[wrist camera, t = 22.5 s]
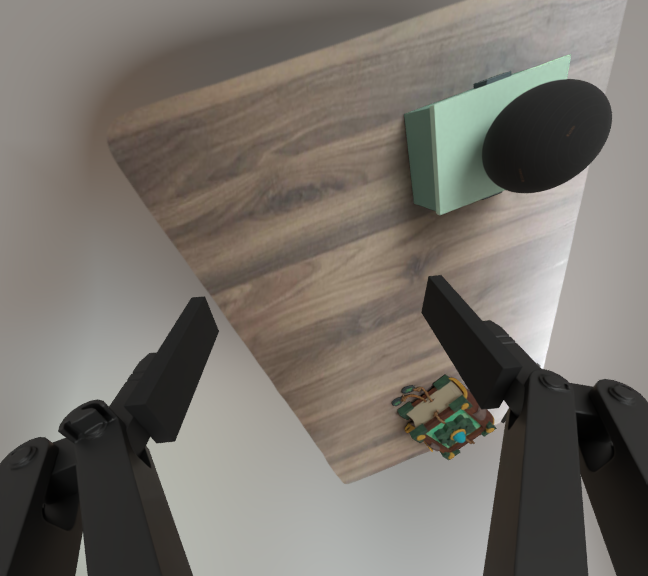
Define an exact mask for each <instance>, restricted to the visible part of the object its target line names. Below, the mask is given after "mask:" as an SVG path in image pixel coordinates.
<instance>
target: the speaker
mask: <svg viewBox="0 0 648 576" xmlns="http://www.w3.org/2000/svg"><path fill="white" fill-rule="evenodd" d="M611 123H612V111H611V106H610V103H609V101H608V99H607V97H606V96H605V94H604V93H603V92H602V91H601V90H600V89H599V88H597V87H596V86H594V85H593V84H590V83H588V82H585V81H581V80H575V79H562V80H555V81H550V82H547V83H544V84H541V85H538V86H536V87H534V88H532V89H530V90H528V91H526V92H524V93H523V94H521V95H520V96H518V97H517V98H515V99H514V100H513V101H512V102H510V103H509V104H508V105H507V106H506V107H505V108H504V109H503V110H502V111H501V112H500V113H499V115H498V116H497V117H496V118H495V120H494V121H493V123H492V124H491V126H490V128H489V130H488V132H487V134H486V137H485V139H484V143H483V148H482V163H483V167H484V170H485V172H486V174H487V175H488V177H489V178H490V179H491V181H492V182H493V183H495V184H496V185H497V186H499V187H501V188H503V189H505V190H508V191H511V192H516V193H535V192H541V191H545V190H548V189H551V188H554V187H556V186H559V185H561V184H563V183H565V182H567V181H568V180H570V179H572V178H573V177H575V176H576V175H578V174H579V173H580V172H581V171H583V170H584V169H585V168H586V167H587V166H588V165H589V164H590V163H591V162H592V161H593V160H594V159H595V158H596V156H597V155H598V154H599V152H600V151H601V149H602V147H603V146H604V144H605V142H606V140H607V138H608V135H609V132H610V129H611Z"/></svg>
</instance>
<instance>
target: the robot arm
mask: <svg viewBox="0 0 648 576" xmlns="http://www.w3.org/2000/svg"><path fill="white" fill-rule="evenodd" d="M421 313H422V314H423V316H424V318H425V319H426V321H427V322H428V324H429V326H430V327H431V329H432V330H433V332H434V334H435V335H436V337H437V339H438V340H439V342H440V343H441V345H442V347H443V348H444V350H445V351H446V353H447V355H448V356H449V358H450V360H451V361H452V363H453V364H454V366H455V368H456V369H457V371H458V372H459V374H460V376H461V377H462V379H463V381H464V382H465V384H466V385H467V387H468V389H469V390H470V392H471V394H472V395H473V397H474V398H475V400H476V402H477V403H478V405H479V406H480V408H481V410H484V409H494V408H499V407H500V405H501V403H502V402H503V400H504V401H505V402H506V403H507V405H508V406H509V409H508V411H507V412H506V414H505V415H504V417H503V419H502V421H501V422H502V423H504V422H505V421H506V422H505V429H504V436H503V443H502V450H501V456H500V463H499V470H498V477H497V484H496V491H495V498H494V504H493V512H492V518H491V525H490V532H489V539H488V545H487V552H486V559H485V566H484V573H483V576H588V567H587V553H586V540H585V526H584V513H583V502H582V501H583V500H582V487H581V477H582V479H583V482H584V485H585V488H586V491H587V494H588V496H589V499H590V502H591V505H592V508H593V510H594V513H595V516H596V519H597V522H598V525H599V527H600V530H601V533H602V536H603V539H604V541H605V544H606V547H607V550H608V553H609V555H610V558H611V561H612V564H613V567H614V570H615V572H616V575H617V576H648V402H647V401H646V399H645V398H644V397H643V396H642V395H641V394H640V393H638V392H637V391H636V390H634V389H633V388H631V387H629V386H627V385H625V384H623V383H620V382H617V381H614V380H608V379H603V380H599V381H598V382H597V383H596V384H595V386H594V387H591V386H585V385H579V384H573V383H569V382H568V381H567V380H566V379H564V378H563V377H561V376H560V375H558V374H556V373H554V372H552V371H549V370H545V369H541V368H540V367H539V366H538V365H537V364H536V363H535V362H534V361H533V360H532V359H531V358H530V356H529V355H528V354H527V353H526V352H525V351H524V350H523V349H522V348H521V347H520V346H519V345H518V344H517V343H515V341H514V340H513V339H512V338H511V337H509V335H508V334H507V333H506V332H505V330H504V329H503V328H502V327H500V326H499V325H497V324H495V323H494V322H492V321H491V320H488V321H482V320H481V319H480V318H479V317H478V315H477V314H476V313H475V312H474V311H473V310H472V309H471V308H470V307H469V305H468V304H467V303H466V302H465V301H464V300H463V299H462V298H461V297H460V295H459V294H458V293H457V292H456V291H455V290H454V289H453V288H452V287H451V285H450V284H449V283H448V282H447V281H446V280H445V279H444V278H443V276H442V275H438V276H429V277H428V282H427V287H426V292H425V297H424V302H423V307H422V312H421ZM218 332H219V330H218V328H217V325H216V323H215V320H214V318H213V315H212V313H211V310H210V308H209V305H208V303H207V301H206V298H205V297H193V298H191V299H190V301H189V303H188V304H187V306H186V307H185V309H184V310H183V312H182V314H181V315H180V317H179V319H178V320H177V322H176V323H175V325H174V327H173V328H172V329H171V331H170V333H169V334H168V336H167V337H166V339H165V341H164V342H163V344H162V345H161V347H160V349H159V350H158V352H157V353H149V354H148V355H147V356H146V357H145V358H144V359H142V360H141V361H140V362H139V364H138V365H137V366H136V368H135V369H134V371H133V374H131V375H130V377H129V378H128V380H127V382H126V383H125V384H124V386H123V387H122V388H121V390H120V391H119V393H118V394H117V396H116V397H115V399H114V400H113V402H112V403H111V405H110V406H107V404H106V403H105V402H104V401H102V400H93V401H89V402H87V403H84V404H82V405H80V406H79V407H77V408H76V409H74V410H73V411H72V412H70V413H69V414H68V415H67V416H66V417H65V418H64V420H63V421H62V423H61V424H60V426H59V430H58V432H60V433H61V434H62V435H63V436H65V437H66V438H64V439H61V440H58V441H56V442H53V443H52V442H51V441H49V440H48V439H46V438H45V437H38V438H35V439H31V440H29V441H27V442H25V443H23V444H22V445H20V446H18V447H17V448H16V449H14V450H13V451H12V452H11V453H9V454H8V455H7V456H6V457H5V459H4V460H3V461H2V462H1V463H0V576H75V574H76V568H77V562H78V556H79V550H80V544H81V539H82V533H83V536H84V545H85V554H86V564H87V573H88V576H193V574H192V571H191V569H190V565H189V563H188V560H187V557H186V554H185V551H184V549H183V546H182V543H181V540H180V537H179V534H178V531H177V528H176V526H175V523H174V520H173V517H172V514H171V511H170V508H169V506H168V502H167V500H166V497H165V494H164V491H163V488H162V485H161V483H160V480H159V477H158V474H157V472H156V468H155V465H154V463H153V460H152V457H151V454H150V451H149V449H148V448H147V446H146V444H147V442H148V440H149V438H150V437H151V438H152V439H153V440H154V441H155V442H156V443H165V442H173V441H175V440H176V438H177V435H178V433H179V430H180V428H181V425H182V423H183V420H184V418H185V415H186V412H187V410H188V408H189V405H190V403H191V400H192V398H193V395H194V392H195V390H196V387H197V385H198V382H199V380H200V378H201V375H202V372H203V370H204V367H205V365H206V362H207V360H208V357H209V355H210V352H211V350H212V347H213V345H214V342H215V340H216V337H217V335H218Z"/></svg>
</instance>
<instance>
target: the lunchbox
mask: <svg viewBox="0 0 648 576" xmlns="http://www.w3.org/2000/svg"><path fill="white" fill-rule="evenodd" d="M570 58H571V54H570V55H567V56H563V57H561V58H558V59H555V60H552V61H550V62H547V63H544V64H542V65H539V66H536V67H534V68H531V69H527V70H524V71H520V72H517V73H514V74H511V71H510V72H506V73H503V74H500V75H497V76H494V77H491V78H489V79H486V80H483V81H480V82H478V83H475V84H474V88H473V89H471V90H468V91H465V92H463V93H460V94H457V95H454V96H452V97H449V98H446V99H444V100H441V101H438V102H436V103H433V104H430V105H427V106H425V107H422V108H419V109H417V110H414V111H411V112H409V113H406V114H404V118H405V127H406V136H407V145H408V154H409V163H410V172H411V181H412V190H413V199H414V204H417V205H420V206H423V207H425V208H428V209H431V210H434V211H436V214H438V215H442V214H445V213H447V212H450V211H453V210H455V209H458V208H460V207H463V206H465V205H468V204H471V203H473V202H476V201H478V200H484V199H486V198H489V197H491V196H494V195H497V194H499V193H502V191H504V190H505V189H503V188H501V187H499V186H497V185H496V184H495V183H493V182H492V181H491V179H490V178H489V177H488V175H487V174H486V172H485V170H484V167H483V163H482V148H483V143H484V139H485V137H486V134H487V132H488V130H489V128H490V126H491V124H492V123H493V121H494V120H495V118H496V117H497V116H498V115H499V113H500V112H501V111H502V110H503V109H504V108H505V107H506V106H507V105H508V104H509V103H510V102H512V101H513V100H514V99H515V98H517V97H518V96H520V95H521V94H523V93H524V92H526V91H528V90H530V89H532V88H534V87H536V86H538V85H541V84H544V83H547V82H550V81H555V80H562V79H567V76H568V70H569V64H570Z"/></svg>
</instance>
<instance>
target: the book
mask: <svg viewBox="0 0 648 576" xmlns="http://www.w3.org/2000/svg"><path fill="white" fill-rule="evenodd" d="M433 385H434V386H435V387H434V388H433V389H431V390H430V391H429V392H427V391H426V390H425V389H424V388H423V387H417V388H415V387H414V386H413V385H412V386H407V387H404V388H403V389H402V393H404V394H406V393H410V392H412V391H418V392H419V391H420V390H421V389H422V390H423V391H424V392H425V394H424V395H423V396H422V397H420V396H417V395H414V394H410V395H407V396H405V395H402V396H403V397H402V398H401V397H399V398H397V399H395V400H393V401H392V405H393V406H398V405H399V404H401V403H402V401H404V402H405V401H406V398H408V397H416V398H419V399H418V400H416V401H415V402H414V403H411V402H408V403H407V404H405V405H404V406H403V407H401V408H400V409H399V410H398V412H399V414H400V416H402V417H403V418H405V419H406V420H409V419H410V420H412V421H413V422H414V423H412V422H411V423H408V425H407V426H406V427H405V432H406V433H410V435H411V437H412V439H414V440H415V441H417V442H419V443H421V442H424V443H425V444H426V445H427V446H428V448H429V449H430V450H431V451H432V452H433V450H432V449H434V450H436V451H440V452H441V454H442V456H443V457H444V458H446V459H448V460H450V459H452V458H454V456H456V455H457V454H459V453H460V451H459V449H460V448H461V447H463V446H464V445H466V444H467V443H470V444H472V443H473V444H474V442H473V439H475V438H476V437H478V436H479V435H481V434H482V435H483V436H486V435H487V434H489V433H491V432H493V431H494V430H495V429H496V427H495V426H494V425H493V424H494V418H493V416H492V414H491V413H490V412H489V411H488V410H487V409H484V410H481V408H480V406H479V405H478V403H477V402H476V400H475V398H474V397H473V395H472V394H471V392H470V390H468V389H466V388H465V387H464V386H463V385H462V384H461V383H460V382H459V381H458V380H457V379H455V378H452V377H451V378H449V377H448V376H447V375H444V376H443V377H441V378H440V379H439V380H437V381H436V382H435V383H433ZM410 426H411V427H410ZM409 427H410V428H409ZM408 428H409V429H408Z"/></svg>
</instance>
